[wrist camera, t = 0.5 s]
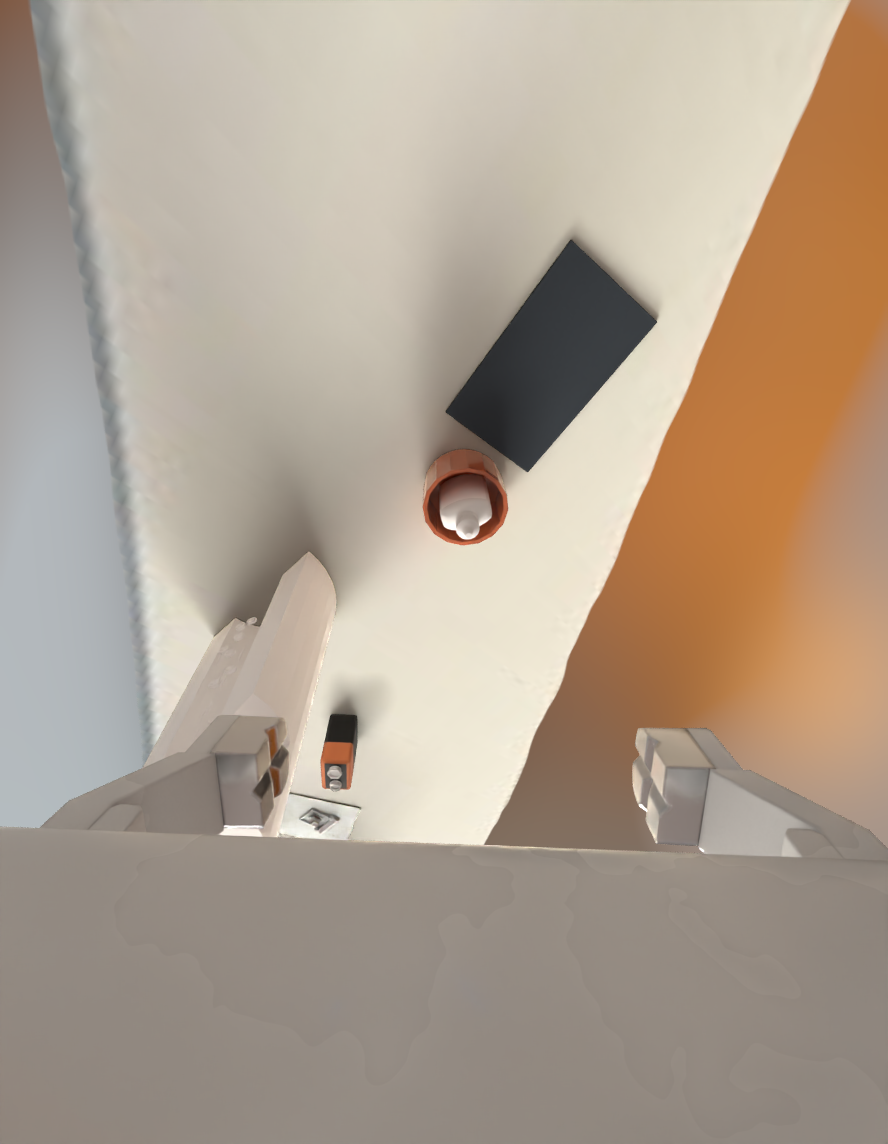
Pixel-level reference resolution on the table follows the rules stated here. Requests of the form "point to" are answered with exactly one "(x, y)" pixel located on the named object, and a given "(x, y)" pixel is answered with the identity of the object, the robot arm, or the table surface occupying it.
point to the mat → (551, 358)
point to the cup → (455, 466)
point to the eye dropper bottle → (465, 504)
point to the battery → (339, 752)
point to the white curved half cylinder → (261, 673)
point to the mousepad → (317, 819)
